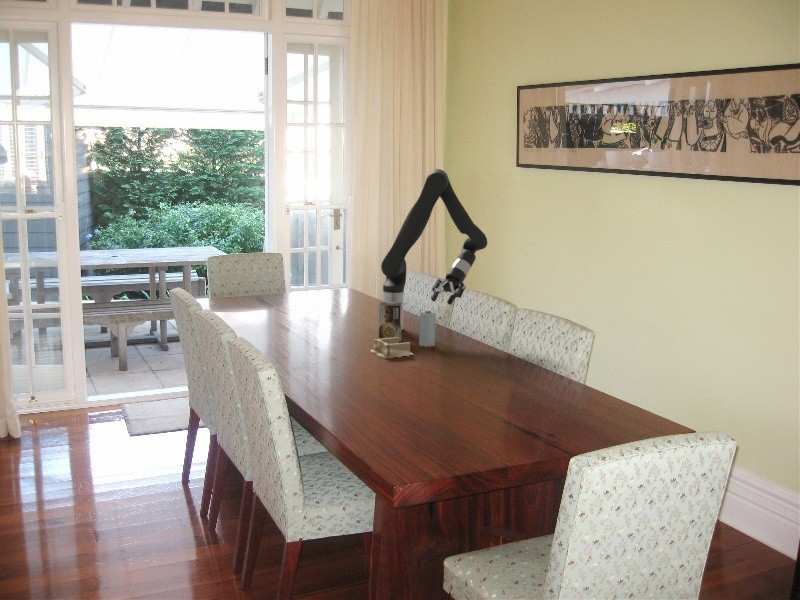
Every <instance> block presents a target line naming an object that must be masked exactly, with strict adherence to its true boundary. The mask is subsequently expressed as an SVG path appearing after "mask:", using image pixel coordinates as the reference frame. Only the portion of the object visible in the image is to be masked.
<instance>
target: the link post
mask: <svg viewBox="0 0 800 600" xmlns="http://www.w3.org/2000/svg"><path fill="white" fill-rule="evenodd" d="M436 314H437V313H436V312H433V311H431V310H424V311H422V312H420V313H419V334H418V335H419V341H418V346H419V345H423V346H430V345H434V346H435V344H436V341H435V339H436V338H435V337H436V318H437V316H436Z"/></svg>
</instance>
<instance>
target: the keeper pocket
mask: <svg viewBox="0 0 800 600" xmlns="http://www.w3.org/2000/svg"><path fill="white" fill-rule="evenodd" d="M372 340H373V344H372V345H373V347H372V349H369V353H371V352H372V354H373V353H374V354H373V355H374V356H377V357H379V358H381V359H383V360H386V359H387V358H389V359H395V358H394V357H398V358H403V357H402V356H407V357H410V356H409V355H413V356H414V353H413V352H411V342H409V341H407V342H400V343H399V337H393V338H382V339H379V338H373V339H372Z"/></svg>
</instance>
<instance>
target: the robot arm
mask: <svg viewBox="0 0 800 600" xmlns="http://www.w3.org/2000/svg"><path fill="white" fill-rule="evenodd" d="M439 199H441V201H442V202H443V204H444V206H445V208H446V210H447V212H448V214H449V216H450V218H451V220H452V222H453V223H454V225H455V226H456V228H457V231H458V232H459V233H461V234H462V235H466V236H467V237H466V239H465V240H464V242H463V244H462V247H461V250H460V253H459V255H458V256H457V258H456V260H455V261H454V262H453V264H452V265H451V266H450V268H449V270H448V272H447V273H446V275H445V279H444V280H441V278H438V279H437V280H436V281H435V283H434V284H433V286H432V287H431V290H432V292H433V293H432V295H431V296H430V300H431V301H432V302H433V303H435V302H436V300H437V299H438V297H439V295H440V294H443V293H445V292H446V293H448V292H449V293H451V294H450V296H449V297H448V299H447V301H446V303H447V304H448V305H449V306H451V305H452V304H453V302H454V301H455V299H457V298H458V299H460V298H461V297H462V295H463V293H464V292H465V289H466V285H465V284H464V281H465V279H466V277H467V276H468V275H469V273H470V270H471V268H472V266H473V265H474V264H475V261H476V259H477V258H476V255H475V254H476V253H477V252H478V251H480V250H484V249H485V248H487V246H488V238H487V236H486V234H485V233H484V232H483V231H482V229H480V228H479V227H478V226H477V225H476V224H475V223H474V221H473V220H472V218H471V217H470V214H469V213H468V212H467V210H466V209H465V208H464V206H463V204H462V203H461V201H460V200H459V197H458V196H457V194H456V192H455V191H454V189H453V187H452V184H451V182H450V179H449V176H448V174H447V172H446V171H444V170H442V169H439V168H435V169H433V170H431V171H430V172H429V173H428V175H427V176H426V178H425V182H424V185H423V187H422V189H421V192H420V195H419V197H418V198H417V200H416V201H415V203H414V204H413V206H412V207H411V209H410V210H409V212H408V213H407V215H406V217H405V219H404V221H403V222H402V225H401V227H400V229H399V231H398V233H397V236H396V238H395V239H394V242H393V244H392V246H391V248H390V249H389V250H388V252H387V253H386V254H385V257H384V258H383V260H382V261H381V267H380V268H381V272H382V274H383V275H384V276H385V280H384V282H383V285H382V302H397V303H402V320H401V331H402V330H403V329H404V327H403V325H404V324H403V322H404V300H405V299H404V297H405V295H404V294H405V286H406V282H407V281H406V280H407V262H406V259H405V258H406V256H407V255H408V253H409V251H410V250H411V249H412V247H414V245H415V244H416V243H417V242H418V240H419V239H420V237H421V236H422V234H423V233H424V230H426V229H425V228H426V226H427V225H428V222H429V220H430V218H431V216H432V212H433V210H434V206H435V205H436V203H437V201H438V200H439Z"/></svg>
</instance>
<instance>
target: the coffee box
mask: <svg viewBox="0 0 800 600" xmlns="http://www.w3.org/2000/svg"><path fill="white" fill-rule="evenodd" d="M378 309H379V310H378V316H379V317H378V321H379V322H378V339H382V338H393V337H399V342H400V343H401V341H402V330H401V320H402V303H397V302H383V301H380V303H379V307H378Z"/></svg>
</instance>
